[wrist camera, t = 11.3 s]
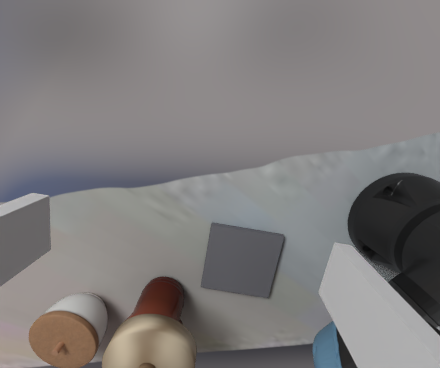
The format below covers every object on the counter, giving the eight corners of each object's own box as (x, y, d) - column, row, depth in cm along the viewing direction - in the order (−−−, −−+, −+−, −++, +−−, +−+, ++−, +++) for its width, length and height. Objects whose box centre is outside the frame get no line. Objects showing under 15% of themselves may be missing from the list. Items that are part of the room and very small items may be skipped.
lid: (202, 321, 32) (199, 350, 28) (190, 386, 36) (185, 420, 32) (115, 306, 32) (99, 333, 28) (110, 372, 35) (95, 405, 31)
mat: (282, 234, 40) (284, 237, 39) (267, 294, 43) (268, 298, 42) (211, 222, 40) (211, 225, 39) (201, 283, 43) (200, 287, 42)
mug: (132, 285, 43) (103, 334, 34) (168, 261, 42) (150, 305, 32) (173, 329, 46) (158, 387, 36) (209, 308, 44) (204, 362, 34)
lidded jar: (128, 316, 45) (104, 365, 36) (84, 336, 47) (50, 388, 38) (95, 272, 43) (59, 313, 34) (49, 295, 45) (4, 340, 36)
